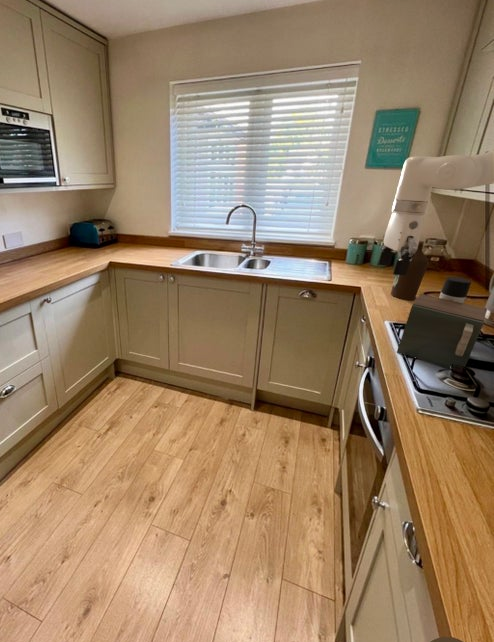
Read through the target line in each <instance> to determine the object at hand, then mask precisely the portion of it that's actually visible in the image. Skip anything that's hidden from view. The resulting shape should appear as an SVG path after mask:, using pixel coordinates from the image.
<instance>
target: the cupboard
mask: <svg viewBox="0 0 494 642" xmlns="http://www.w3.org/2000/svg"><path fill="white" fill-rule="evenodd" d="M412 305H416V306H421V307H425V308H429V309H433V310H437V311H441V312H445V313H449V314H454V315H458V316H462V317H466V318H470V319H474V320H478V321H483V322H484V323H485V320H486V319H485V318H486V309H487V308H485V307H481V306H477V305H473V304H468V303H465V302H464V303H459V302H455V301H450V300H446V299H441V298H439V297H437V296H436V297H435V296H432V295H427V294H423V293H419V295H418V296H417V298H415V299H414V302H413V303H412Z"/></svg>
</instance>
